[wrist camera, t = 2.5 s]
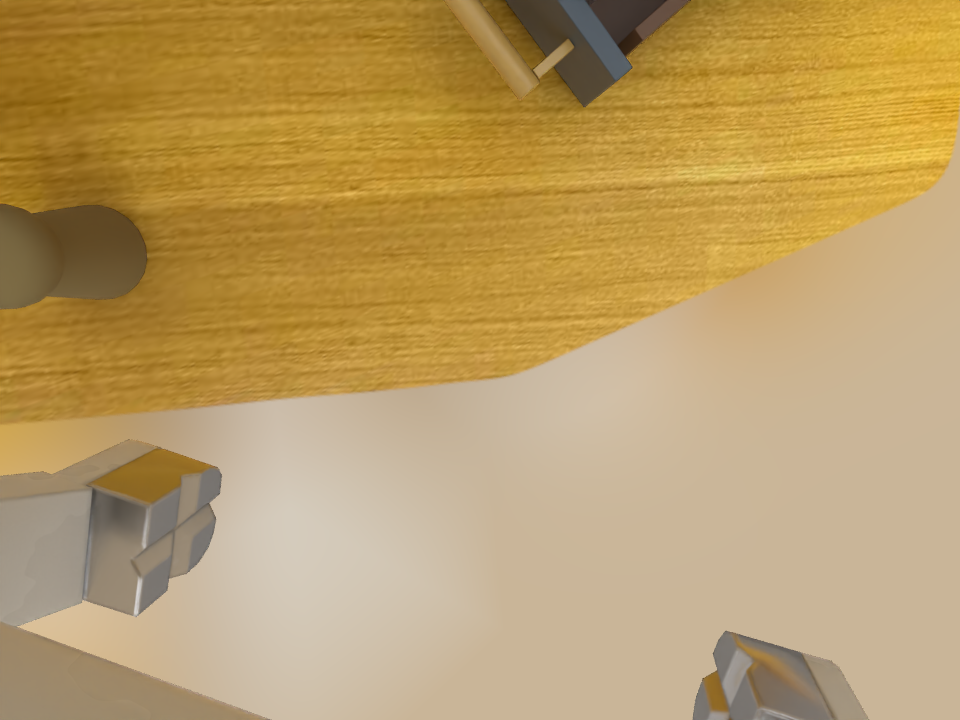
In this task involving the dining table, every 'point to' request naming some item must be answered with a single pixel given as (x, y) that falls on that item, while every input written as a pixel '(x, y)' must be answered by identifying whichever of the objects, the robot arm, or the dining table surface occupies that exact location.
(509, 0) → the drawer
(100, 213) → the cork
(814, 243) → the dining table surface
